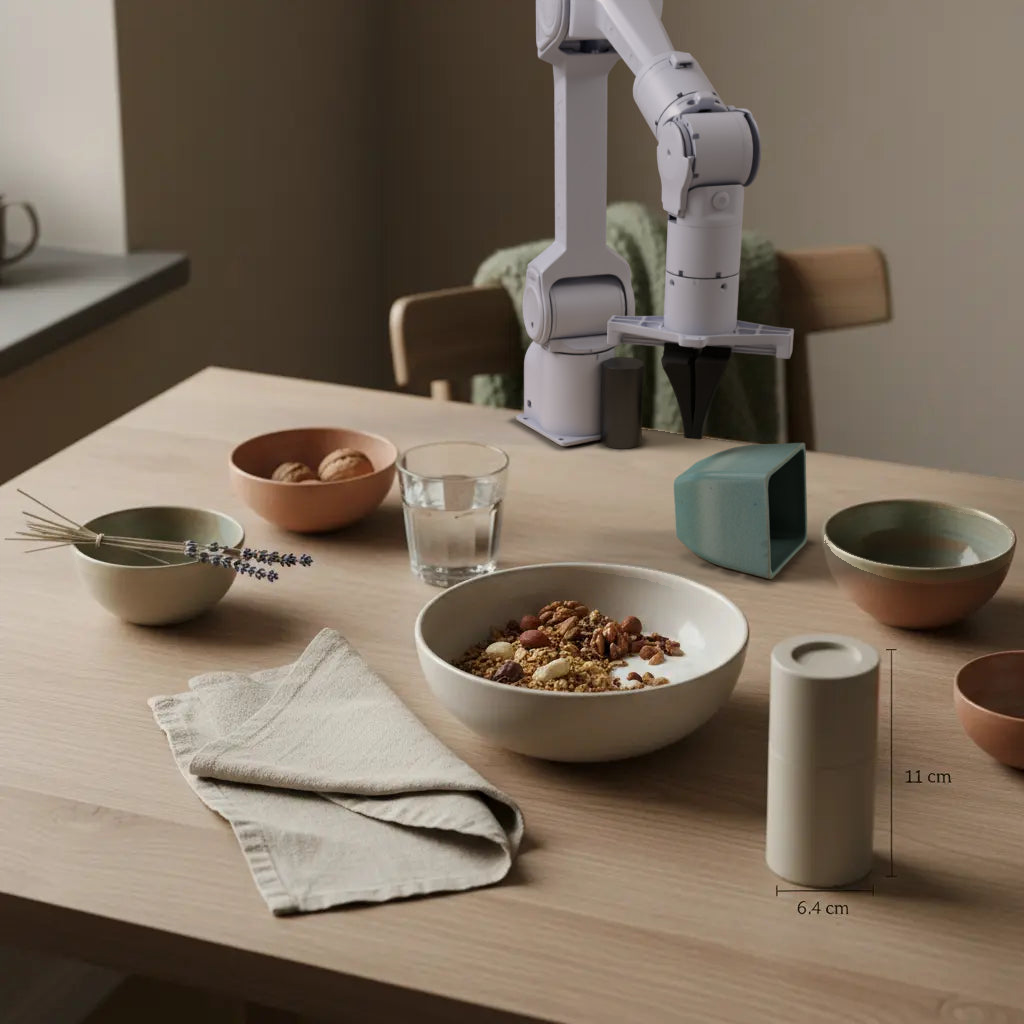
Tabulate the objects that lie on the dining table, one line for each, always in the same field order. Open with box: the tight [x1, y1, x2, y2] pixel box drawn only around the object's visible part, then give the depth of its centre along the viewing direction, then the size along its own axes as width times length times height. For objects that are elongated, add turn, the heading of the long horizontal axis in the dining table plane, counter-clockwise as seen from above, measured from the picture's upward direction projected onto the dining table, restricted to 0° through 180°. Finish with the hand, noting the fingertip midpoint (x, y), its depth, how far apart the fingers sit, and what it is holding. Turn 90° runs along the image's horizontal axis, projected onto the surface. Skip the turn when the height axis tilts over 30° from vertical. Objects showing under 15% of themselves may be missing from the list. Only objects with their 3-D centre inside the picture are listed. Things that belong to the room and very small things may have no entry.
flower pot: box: [673, 442, 808, 580], centre depth 122 cm, size 9×9×9 cm
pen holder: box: [599, 356, 645, 450], centre depth 146 cm, size 4×4×8 cm
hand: (694, 434), depth 123 cm, fingers closed
